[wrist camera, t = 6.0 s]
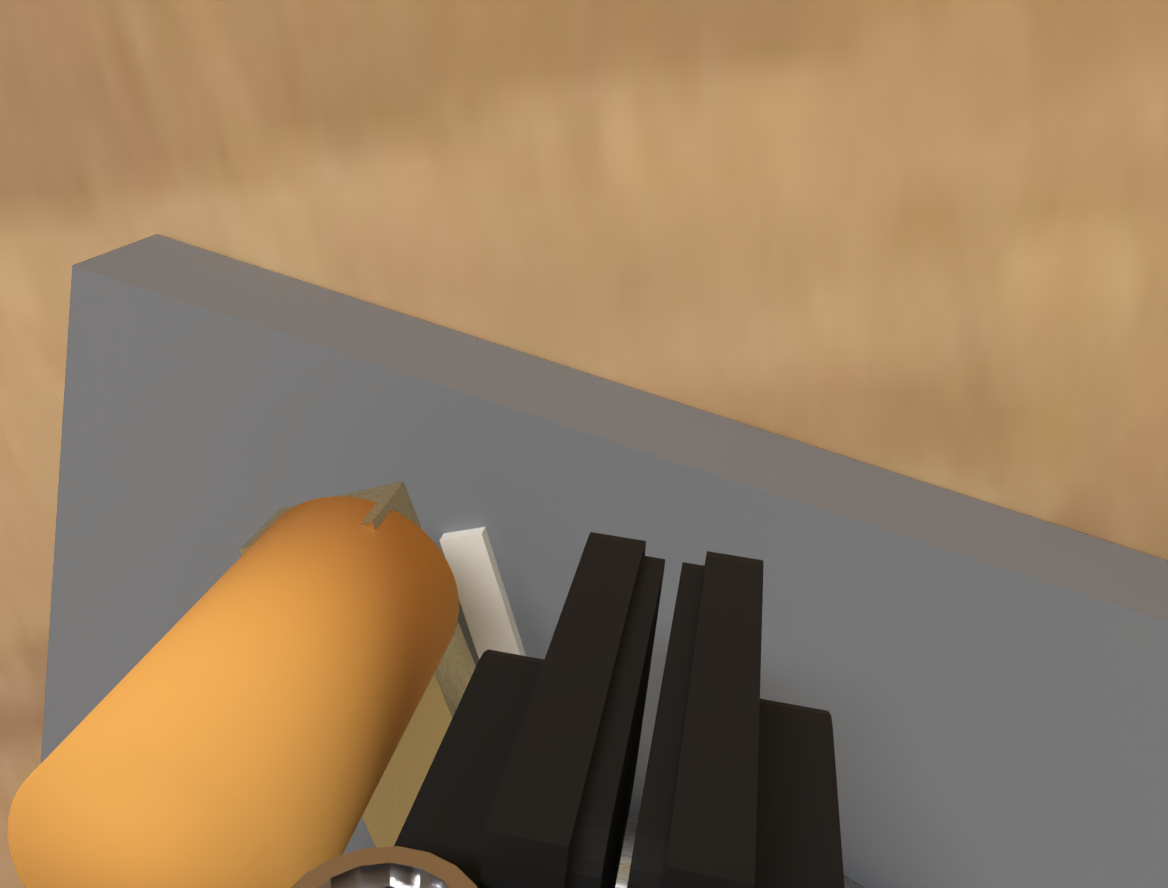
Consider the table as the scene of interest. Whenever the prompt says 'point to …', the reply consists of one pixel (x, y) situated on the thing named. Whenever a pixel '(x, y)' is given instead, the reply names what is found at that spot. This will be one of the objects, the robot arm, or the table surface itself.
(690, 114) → the table surface
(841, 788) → the dial base
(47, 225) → the table surface
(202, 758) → the dial
